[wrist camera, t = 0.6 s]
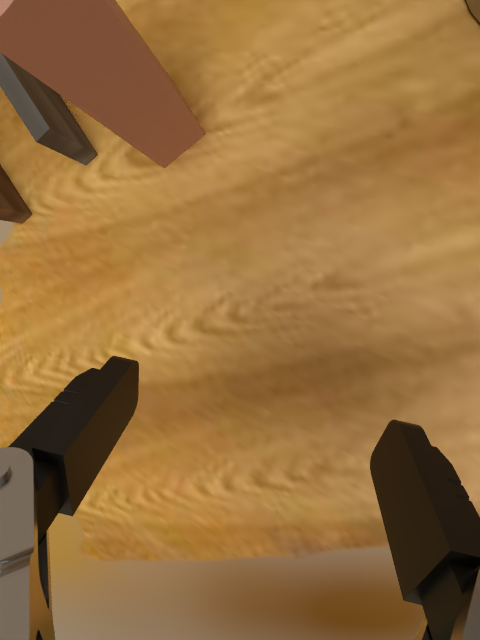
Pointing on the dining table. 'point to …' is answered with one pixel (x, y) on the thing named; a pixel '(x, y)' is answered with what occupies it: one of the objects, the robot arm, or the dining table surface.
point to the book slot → (38, 129)
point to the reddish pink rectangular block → (100, 70)
